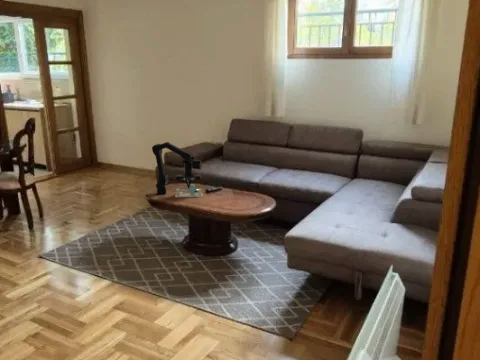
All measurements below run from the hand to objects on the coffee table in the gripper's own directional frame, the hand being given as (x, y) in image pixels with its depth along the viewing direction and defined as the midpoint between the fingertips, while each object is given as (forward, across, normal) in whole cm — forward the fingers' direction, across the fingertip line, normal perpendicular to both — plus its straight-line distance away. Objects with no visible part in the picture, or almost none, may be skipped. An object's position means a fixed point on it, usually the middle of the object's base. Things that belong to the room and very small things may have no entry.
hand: (188, 188), depth 322 cm
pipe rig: (+6, 0, 0) cm, 6 cm away
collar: (+5, +3, 0) cm, 5 cm away
